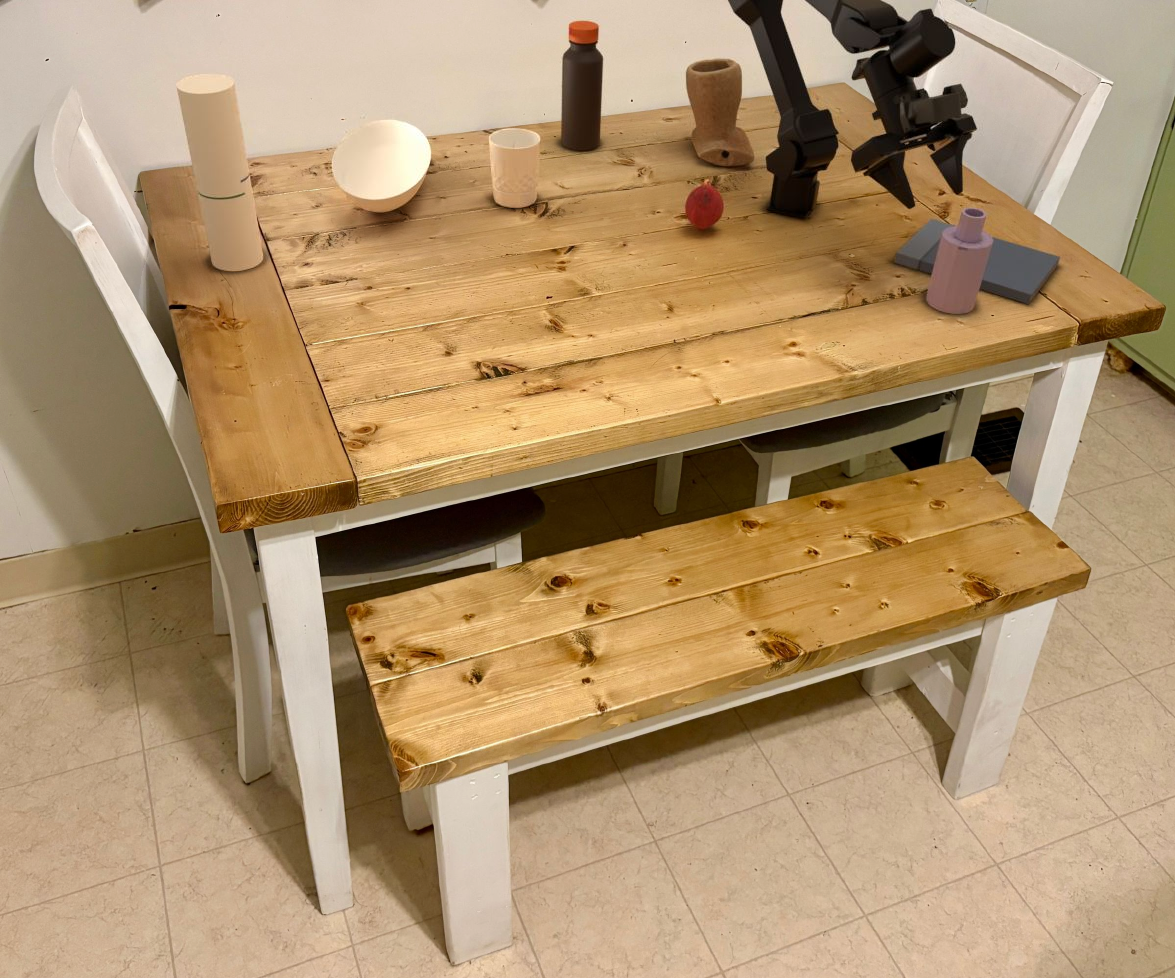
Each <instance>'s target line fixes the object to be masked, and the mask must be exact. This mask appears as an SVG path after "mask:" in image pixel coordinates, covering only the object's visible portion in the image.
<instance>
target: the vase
mask: <svg viewBox="0 0 1175 978" xmlns="http://www.w3.org/2000/svg"><path fill="white" fill-rule="evenodd" d="M987 216H988V213H987V211H985V210H983V209H981V208H978V207H972V206H971V207H964V208H962V209H961V213H960V216H959V220H958V223H957V225H955V226H951V227H948V228H946V229H944V231H943V233H942V236H941V240H940V244H939V248H938V252H937V256H936V260H935V264H934V268H933V271H932V274H930V279H929V284H928V288H927V291H926V296H925V300H926V303H927V304H928V305H929V306H930V307H932V308H933V309H935V310H937V311H939V312H942V313H944V314H945V313H946V314H952V315H963V314H968V313H970V312H971V311H973V310H974V308H975V305H976V302H977V299H978V296H979V293H980V290H981V289H980V285H981V282H982V278H983V275H984V271H985V268H986V264H987V261H988V257H989V254H990V250H991V247H992V244H993V239H992V237H993V236H992V235H991V234H990V233H988V232H987V231H986V230H984V226H985V223H986V219H987Z"/></svg>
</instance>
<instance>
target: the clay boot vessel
mask: <svg viewBox="0 0 1175 978" xmlns="http://www.w3.org/2000/svg"><path fill="white" fill-rule="evenodd" d="M685 85H686V86H685V87H686V94H687V97H688V101H689V104H690V106H691V110H692V113H693V118H694V122H695V128H693V130H692V132H691V137H690V138H691V141H692V144H693V147H694V149H695V152H696V154H697V156H698V157H699V158H700V159H702V160H704V161H706V162H709V163H712V164H714V165H717V166H720V167H737V166H743V165H747V164H750V163H752V162H754V161H755V159H756V158H755V152H754V149H753V146H752V145H751V142H750V139H749V137H748V135H747V133H746V131H745V130H744V129H743V128H742V127H739V126H737V118H738V111H739V109H740V105H741V102H742V97H743V73H742V68H741V65H740V64H739V63H738V62H736V61H735V60H733V59H730V58H712V59H702V60H699V61H698V60H697V61H694V62H692V63H691V64H689V65H688V66H687V68H686V70H685Z"/></svg>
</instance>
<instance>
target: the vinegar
mask: <svg viewBox="0 0 1175 978" xmlns="http://www.w3.org/2000/svg"><path fill="white" fill-rule="evenodd" d="M599 29H600V26H599V24H598V23H596V22H594V21H591V20H575V21H572V22H570V23H569V24H568V43H569V45H570V47H568V48H567V50H565V52H564V53H563V55H562V62H561V64H562V65H561V66H562V67H561V117H560V118H561V122H560V129H561V130H560V142H561V144H562V146H563V147H565V148H567V149H569V150H573V151H584V152H585V151H591V150H594V149H596V148H597V147H598V146H599V145H600V143H601V124H602V103H603V102H602V100H603V99H602V97H603V77H604V76H603V75H604V73H603V72H604V56H603V54H602V53H601V51H600V50H599V49H598V48H597V45H598V43H599V35H600V33H599V31H600V30H599Z"/></svg>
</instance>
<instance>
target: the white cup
mask: <svg viewBox="0 0 1175 978" xmlns="http://www.w3.org/2000/svg"><path fill="white" fill-rule="evenodd" d="M541 140H542V139H541V136H540V134H538V133H537V132H535V131H533V130H530V129H527V128H519V127H518V128H517V127H516V128H515V127H510V128H503V129H502V128H501V129H498V130H496V131H495V130H494V131H493V132H491V134H489V136H488V145H489V147H488V148H489V160H490V172H491V173H490V174H491V183H492V191H493V199H494V201H495V203H496V204H497V205H499V206H502V207H505V208H510V209H521V208H525V207H529V206H531V205H533V204H535V203H536V201H537V198H538V197H537V196H538V183H539V173H540V158H541V157H540V156H541Z"/></svg>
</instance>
